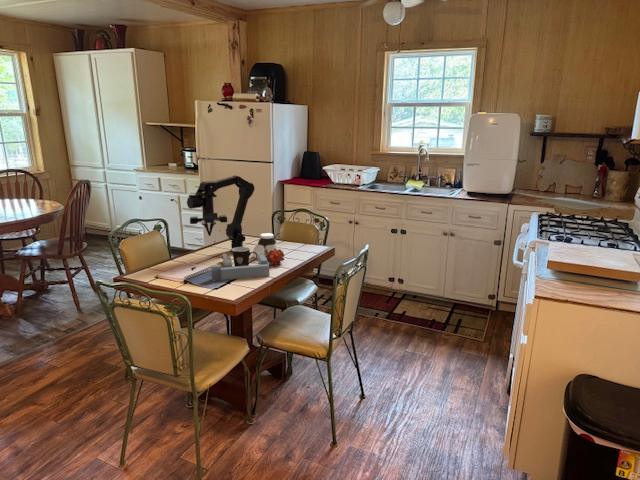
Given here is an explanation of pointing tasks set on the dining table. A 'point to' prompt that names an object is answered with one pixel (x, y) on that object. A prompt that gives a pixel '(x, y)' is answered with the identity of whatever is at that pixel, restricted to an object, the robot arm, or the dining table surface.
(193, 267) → the dining table surface
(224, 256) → the sliding jaw
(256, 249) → the spread jar
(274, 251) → the dragon fruit
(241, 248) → the coffee mug
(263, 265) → the vise
